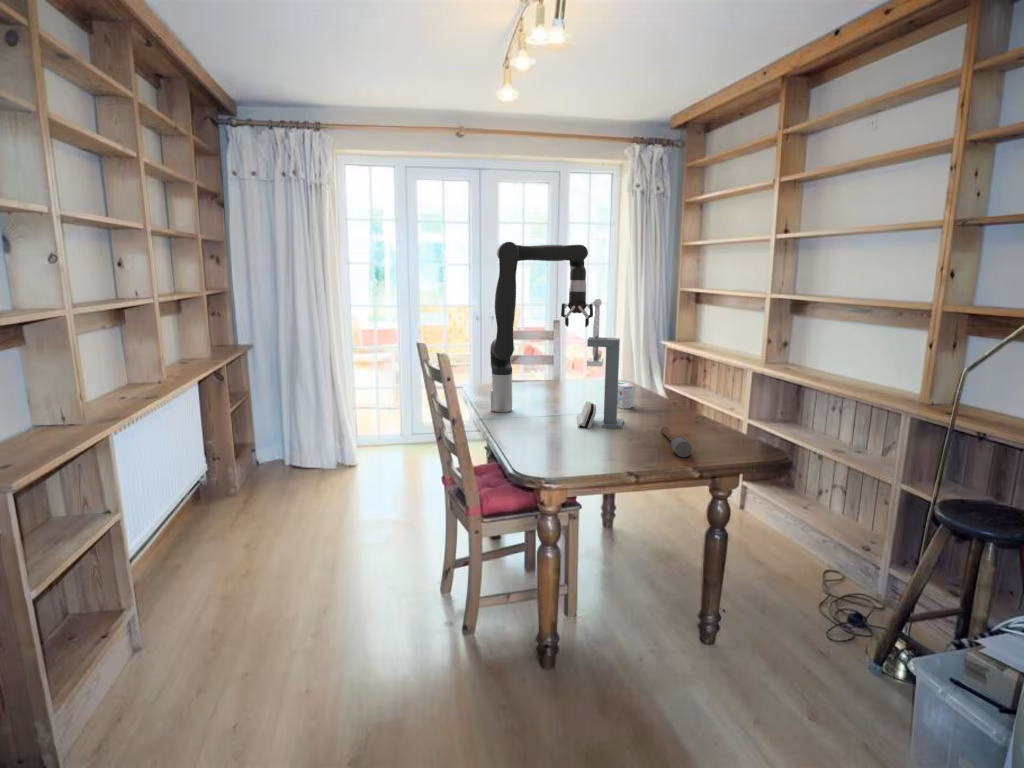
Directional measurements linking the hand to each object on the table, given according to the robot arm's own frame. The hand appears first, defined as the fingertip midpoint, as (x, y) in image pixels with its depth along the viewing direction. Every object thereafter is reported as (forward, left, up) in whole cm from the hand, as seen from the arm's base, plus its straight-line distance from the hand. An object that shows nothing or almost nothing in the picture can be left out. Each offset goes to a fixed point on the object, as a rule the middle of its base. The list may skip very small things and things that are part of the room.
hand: (576, 326), depth 264 cm
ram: (+11, -19, -13) cm, 26 cm away
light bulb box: (+21, +10, -38) cm, 45 cm away
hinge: (+8, -25, -38) cm, 47 cm away
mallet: (+43, -49, -39) cm, 75 cm away
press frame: (+15, -25, -38) cm, 48 cm away
